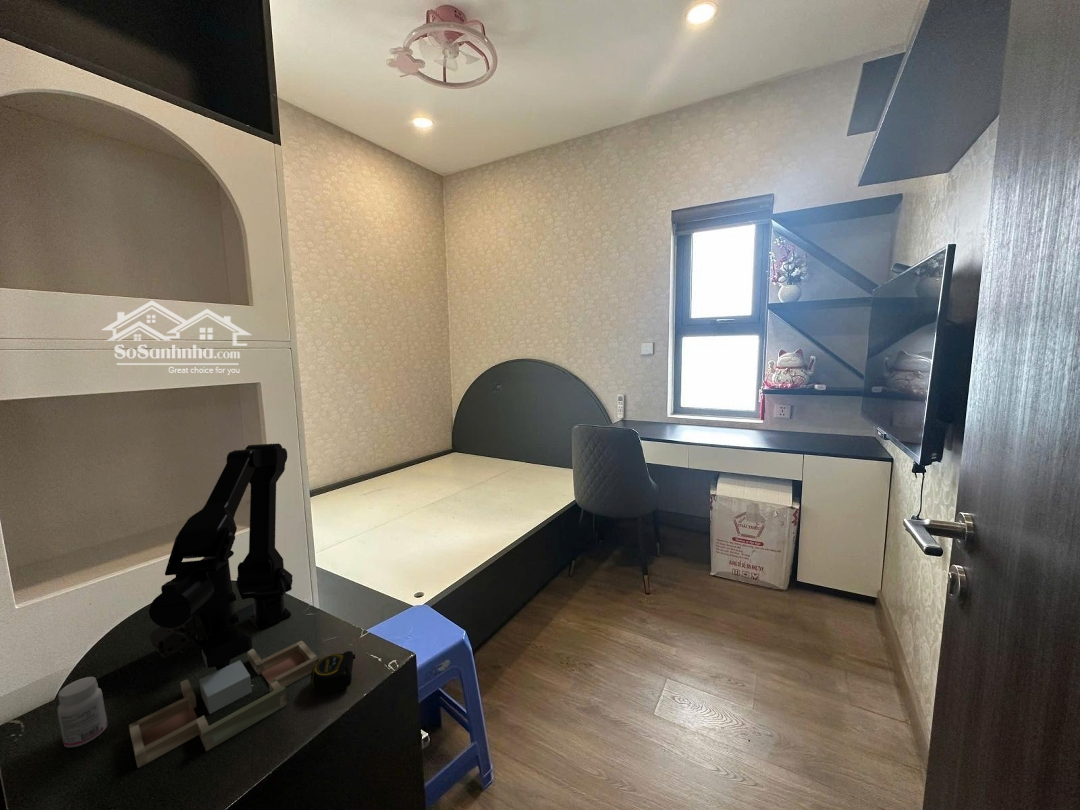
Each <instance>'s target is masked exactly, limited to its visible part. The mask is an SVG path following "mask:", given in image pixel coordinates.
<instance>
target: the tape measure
mask: <svg viewBox="0 0 1080 810" xmlns="http://www.w3.org/2000/svg"><path fill="white" fill-rule="evenodd" d="M354 660H356V653H355V654H354V652H353V651H352V650H347V651H345V652H343V653H331V654H329V655H326V656H325V657H323V658H321V659H319V661H318V662H317V663H316V665H315V666H314V668H313V670H312V673H310V682H311V687H312V688H313V690H314V692H316V693H318V694H325V695H326V694H331V693H334V692H337V691H339V690H341V689H346V688H348V687H350V685H351V684H352V678H353V677H352V676H353V674H352V672H353V665H354Z"/></svg>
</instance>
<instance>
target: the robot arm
mask: <svg viewBox="0 0 1080 810" xmlns="http://www.w3.org/2000/svg"><path fill="white" fill-rule="evenodd" d="M287 460H288V450H287V449H286V448H285V447H283V445H282V444H281V443H278V442H277V443H261V444H260V443H259V444H249V445H247V446H246V447H245V449H235V450H232V451H229V452H228V453H227V455H226V463H225V466H224V468H223V469H222V472H221V474H220V475H219V477H218V479H217V481H216V484H215V485H214V486H213V489H212V491H211V493H210V495H209V497H208V499H207V501H206V502H205V505H204V506H203V507H202V509H201V510H199V511H197V512H196V513H194V514H193V515H192V516H190V517H189V518H187V520H186V521H185V523H184V525H183V526H182V527H181V528H180V530H179V531H178V533H177V535H176V536H175V539H174V542H173V545H172V549H171V552H170V556H169V558H168V560H167V561H168V563H167V564H166V568H165V572H164V575H165V576H166V577H167V576H175V577H174V578H172V579H171V580H169V581H167V582H165V583H164V584H163V585H161V587H160V590H161V591H160V592H161V593H160V594H158V595H157V596H156V597H155V598H154V599H153V600H152V602H151V604H150V606H149V609H148V615H149V618H150V619H151V621H152V622H153V623H155V625H157V626H158V627H157V628H156V629H154V630H153V631H152V632H151V633H150V634H149V636H148V638H149V641H150V642H151V643H150V644H151V646H153V647H154V648H155V650H156V651H157V653H158V655H160V656H161V657H162V658H163V659H164V658H167V657H169V656H171V655H172V654H175V653H176V652H178V651H179V650H180V649H182V648H183V647H185V646H187V644H188V643H189V642H190V641H191V640H192V641H193V643H194V644H195V646H197V647H198V648H197V651H198V652H199V655H201V656H202V658H203V662H204V664H205V666H206V668H207V669H211V668H213V669H215V672H216V671H218V670H220V669H222V668H224V667H226V666H229V665H230V663H231V660H234V659H235V658H236V657H239V656H241V655H244V654H245V653H247V652H248V651H250V650H251V649H253V640H252V636H251V635H250V633H248V631H247V630H246V629H245V628H242V627H238V626H237V625H236V624H237V623H239V615H238V614H237V613H236V612H235V601H237V595H236V594H235V592H234V591H233V586H232V577H231V569H230V560H229V559H231V558H232V557H233V556H234V553H235V552H234V551H233V550H232V548H233V547H234V546H233V545H234V543H235V540H236V533H237V529H238V528H237V525H236V522H235V514H236V513H237V510H238V508H239V506H240V503H241V501H242V499H243V496H244V495H245V492H246V490H247V487H248V486H249V484H250V493H249V494H250V496H249V498H250V500H249V501H250V502H249V503H250V504H249V535H248V537H249V538H248V541H249V542H248V553H247V554H246V557H245V558H244V559H243V561H242V562H239V563H238V565H237V577H236V588H237V591H238V593H239V595H240V597H241V600H246V599H247V600H248V599H252V603H253V613H254V614H253V615H251V616H249V620H250V621H251V623H252V624H253V623H254V624H253V625H254V626H255V628H258V629H260V630H263V629H265V628H267V627H269V626H271V624H272V625H273V624H276V623H278V621H279V622H281V621H282V620H285V619H287V618H290V617H291V616H292V613H291V612H290V610H288V609H287V607H286V606H285V598H284V597H285V596H284V595H286V593H288V592H290V591H292V588H293V587H292V585H293V581H294V580H293V574H291V572H289V571H288V570H287V569H285V565H284V558H283V557H282V555H281V554H280V552H279V551H278V550H277V549H276V520H277V519H276V518H277V517H276V513H277V483H278V481H279V480H280V478H281V476H282V475H283V473H284V472H285V469H286V462H287ZM198 558H201V559H198ZM185 559H186V560H187V559H188V560H189V559H198V560H189V561H188V560H187V561H183V560H185ZM264 627H265V628H264ZM262 628H263V629H262ZM258 629H257V630H258Z"/></svg>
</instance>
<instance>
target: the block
mask: <svg viewBox="0 0 1080 810" xmlns="http://www.w3.org/2000/svg"><path fill="white" fill-rule="evenodd" d="M252 688H253V687H252V681H251V674H250V673H249V672H248V669H247V668H246V667H245V665H244V664H243V663H242V660H241V659H239V660H237V661H235V662H233V663H231V664H229V665H228V666H226V667H224V668H222V669H220V670H218V671H216V670H215V671H214V672H211V673H210V674H207V675H205V676H204V677H201V678H199V689H200V696H201V698H202V700H203V703H204V705H205V707H206V709H207V712H208V714H209V715H211V714H212V713H215V712H217V711H218V710H220V709H222V708H224V707H226V706H229V705H230V704H232V703H234V702H236V701H237V700H239V699H242V698H243V697H246V696H247V695H249V694H251V693H253V689H252Z"/></svg>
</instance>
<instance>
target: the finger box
mask: <svg viewBox="0 0 1080 810" xmlns="http://www.w3.org/2000/svg"><path fill="white" fill-rule="evenodd" d="M246 653H247V661H248V663H249V664H250V666H251V667H252V669H253V670H254V671H255V673H256V674H257V676H260V675H262V677H263V678H264V680H265V681H266V682H267V684H268V689H269V693H267V694H265V695H263V696H261V697H260V698H258V699H256V700H254V701H252V702H250V703H248V704H247V705H244V706H243V707H241V708H239V709H238V710H236V711H234V712H232V713H230V714H229V715H227V716H225V717H223V718H221V719H219V720H217V721H216V722H214V723H212V724H210V725H209V723H208V721H207V719H206V716H205V715H202V716H200V717H198V716H197V714H196V711H195V708H198V705H197V700H196V699H197V698H196V694H195V692H194V690H193V688H192V685H191V683H190V681H189V679H188V678H187V679H185V680H183V681H181V682H179V683H180V690H181V694H182V696H183V698H182V699H179V700H177V701H175V702H173V703H171V704H169V705H167V706H164V707H163V708H161V709H159V710H156V711H154V712H153V713H150V714H149V715H146V716H144V717H143V718H140V719H139V720H136V721H134V722H131V723H130V724H129V725H128V730H129V736H130V739H131V745H132V749H133V753H134V758H135V762H136V767H137V769H139V768H141V767H143V766H145V765H146V764H149V763H151V762H152V761H154V760H156V759H158V758H159V757H161V756H163V755H165V754H167V753H168V752H170V751H172V750H174V749H176V748H178V747H179V746H181V745H182V744H185V743H187V742H188V741H190V740H192V739H194V738H196V737H198V736H199V738H200V740H201V743H202V744H203V748H204V750H205V752H208V751H210V750H212V749H213V748H214V747H217V746H219V745H220V744H222V743H224V742H225V741H227V740H228V739H229V740H230V738H232V737H234V736H235V735H238V734H239V733H241V732H242V731H245V730H246V729H247V728H249V727H251V726H253V725H254V724H257V722H259V721H261V720H263V719H265V718H266V717H268V716H270V715H272V714H274V713H276V712H277V711H278V710H280V709H283V708H284V707H285V706H287V705H288V698H287V689H286V687H288V686H290V685H292V684H293V683H295V682H297V681H299V680H301V679H302V678H305V677H306V676H308V675H311V673H312V670H313V668H314V666H315V665H316V663H317V662H318V661H320V659H319V657H318V656H317V655H316V654H315V653H314V651H312V650H311V648H309V646H308V645H307V644H306V643H305V642H304V641H303V640H300V641H297V642H296V643H293V644H291V645H290V646H287V647H285V648H283V649H281V650H279V651H277V652H275V653H273V654H271V655H269V656H267V657H264V658H263V659H261V657H260V655H258V653H257V652H256V650H255V649H254V648H251V650H250V651H248V652H246Z"/></svg>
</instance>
